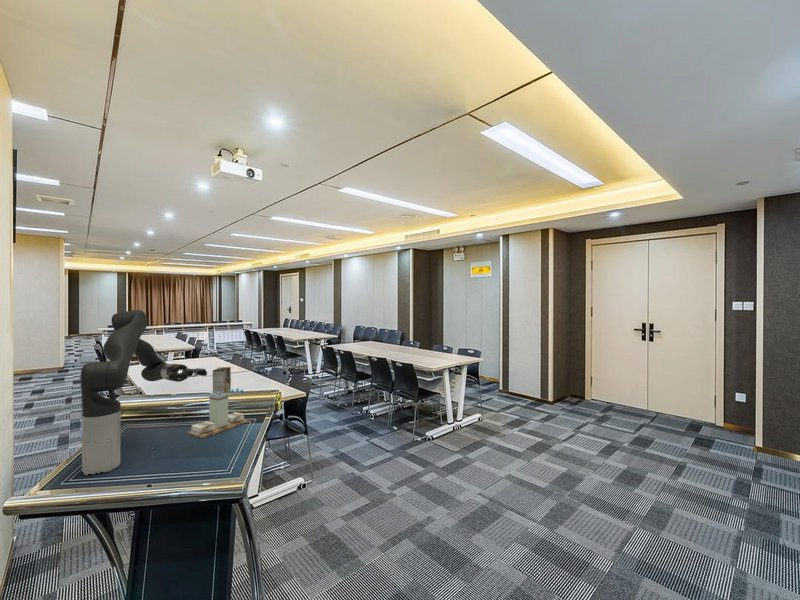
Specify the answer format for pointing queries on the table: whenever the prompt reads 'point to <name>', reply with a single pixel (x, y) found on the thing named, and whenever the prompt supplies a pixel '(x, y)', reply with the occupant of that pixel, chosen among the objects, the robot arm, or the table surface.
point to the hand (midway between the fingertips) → (196, 375)
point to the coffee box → (222, 379)
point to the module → (218, 410)
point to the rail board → (210, 429)
